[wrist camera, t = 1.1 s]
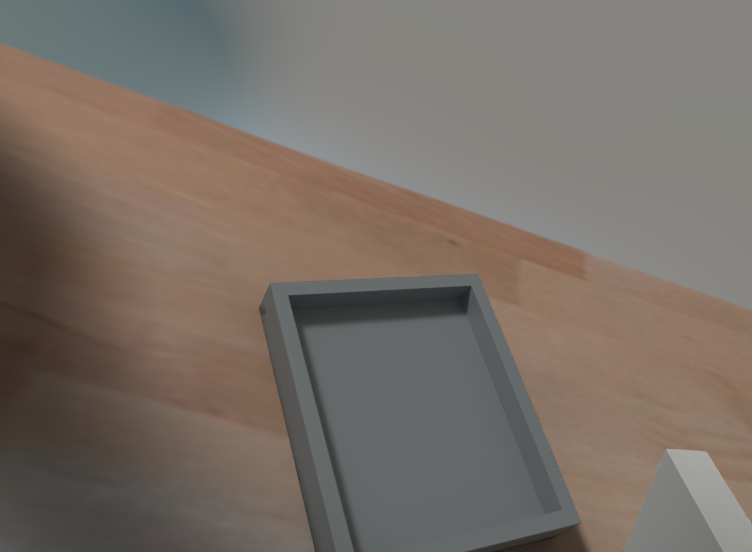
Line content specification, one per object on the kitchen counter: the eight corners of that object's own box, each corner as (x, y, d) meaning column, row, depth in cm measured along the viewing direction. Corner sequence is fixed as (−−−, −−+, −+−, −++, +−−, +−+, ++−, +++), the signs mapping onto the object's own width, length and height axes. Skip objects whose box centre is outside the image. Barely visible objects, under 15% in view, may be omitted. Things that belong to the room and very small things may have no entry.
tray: (259, 308, 39) (270, 283, 37) (459, 296, 45) (477, 273, 43) (325, 595, 32) (343, 581, 30) (554, 536, 38) (581, 522, 36)
